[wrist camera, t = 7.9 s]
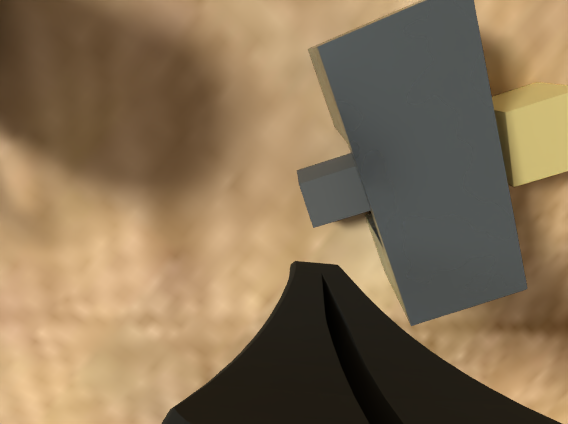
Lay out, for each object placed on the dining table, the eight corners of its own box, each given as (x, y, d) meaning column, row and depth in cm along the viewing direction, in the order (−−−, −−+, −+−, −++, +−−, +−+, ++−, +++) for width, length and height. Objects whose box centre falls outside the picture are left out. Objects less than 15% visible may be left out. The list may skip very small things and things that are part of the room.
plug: (312, 218, 20) (318, 245, 17) (293, 160, 19) (296, 179, 16) (541, 148, 18) (588, 164, 16) (536, 82, 17) (585, 86, 15)
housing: (476, 241, 20) (527, 289, 16) (384, 272, 21) (411, 326, 17) (420, 0, 16) (469, -19, 12) (308, 49, 17) (317, 46, 12)
